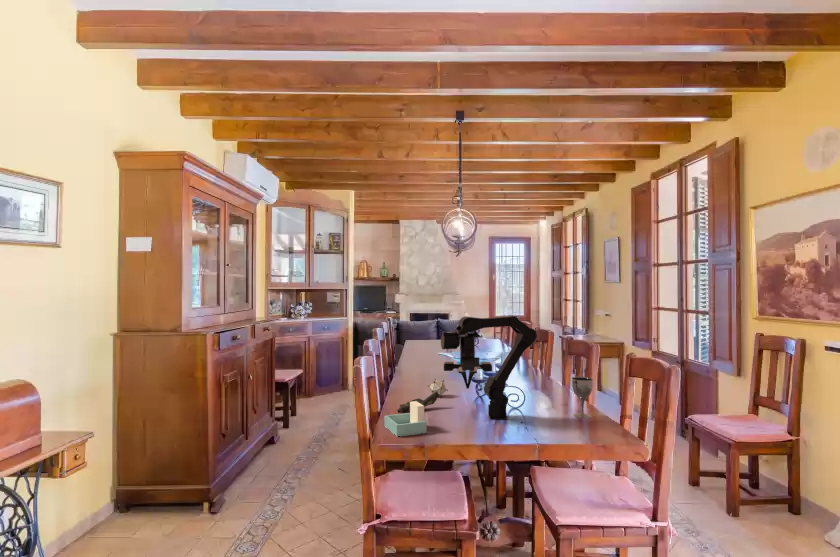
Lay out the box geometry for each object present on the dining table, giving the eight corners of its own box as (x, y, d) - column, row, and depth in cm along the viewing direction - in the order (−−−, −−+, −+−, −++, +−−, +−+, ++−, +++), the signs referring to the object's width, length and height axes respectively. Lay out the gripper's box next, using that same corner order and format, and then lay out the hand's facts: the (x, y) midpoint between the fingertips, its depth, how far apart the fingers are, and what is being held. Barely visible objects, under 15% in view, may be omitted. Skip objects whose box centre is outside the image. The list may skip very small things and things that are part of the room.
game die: (434, 403, 227) (429, 384, 232) (451, 397, 226) (445, 378, 231) (429, 398, 219) (424, 378, 225) (446, 392, 218) (440, 372, 224)
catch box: (412, 422, 182) (412, 412, 183) (426, 432, 170) (426, 421, 170) (384, 426, 178) (384, 415, 178) (396, 436, 166) (396, 425, 166)
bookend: (416, 425, 180) (416, 401, 180) (424, 430, 173) (424, 405, 173) (392, 428, 176) (392, 403, 176) (399, 433, 169) (399, 408, 170)
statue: (402, 420, 195) (443, 405, 204) (400, 408, 194) (442, 393, 203) (395, 414, 201) (435, 399, 210) (394, 402, 199) (434, 388, 209)
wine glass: (593, 414, 193) (593, 377, 193) (592, 419, 186) (591, 381, 186) (573, 412, 197) (573, 376, 197) (570, 417, 189) (570, 379, 190)
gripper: (443, 351, 181) (443, 392, 180) (493, 351, 179) (493, 393, 179) (443, 347, 192) (444, 386, 191) (490, 347, 190) (490, 387, 190)
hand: (467, 388), depth 188 cm, fingers closed
